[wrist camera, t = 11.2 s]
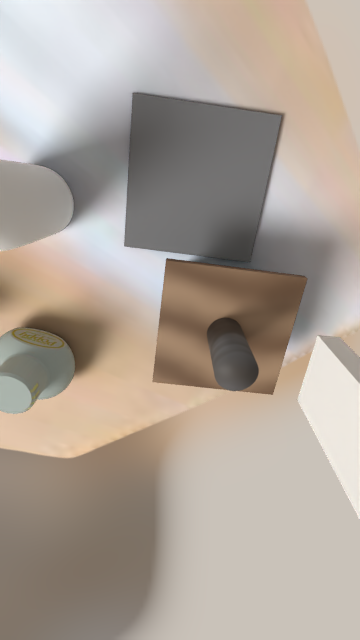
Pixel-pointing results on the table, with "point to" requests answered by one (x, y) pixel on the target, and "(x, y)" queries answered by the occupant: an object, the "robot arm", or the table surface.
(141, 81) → the table surface
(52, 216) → the milk bottle
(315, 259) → the table surface
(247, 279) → the lid
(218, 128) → the mat
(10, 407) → the air freshener
